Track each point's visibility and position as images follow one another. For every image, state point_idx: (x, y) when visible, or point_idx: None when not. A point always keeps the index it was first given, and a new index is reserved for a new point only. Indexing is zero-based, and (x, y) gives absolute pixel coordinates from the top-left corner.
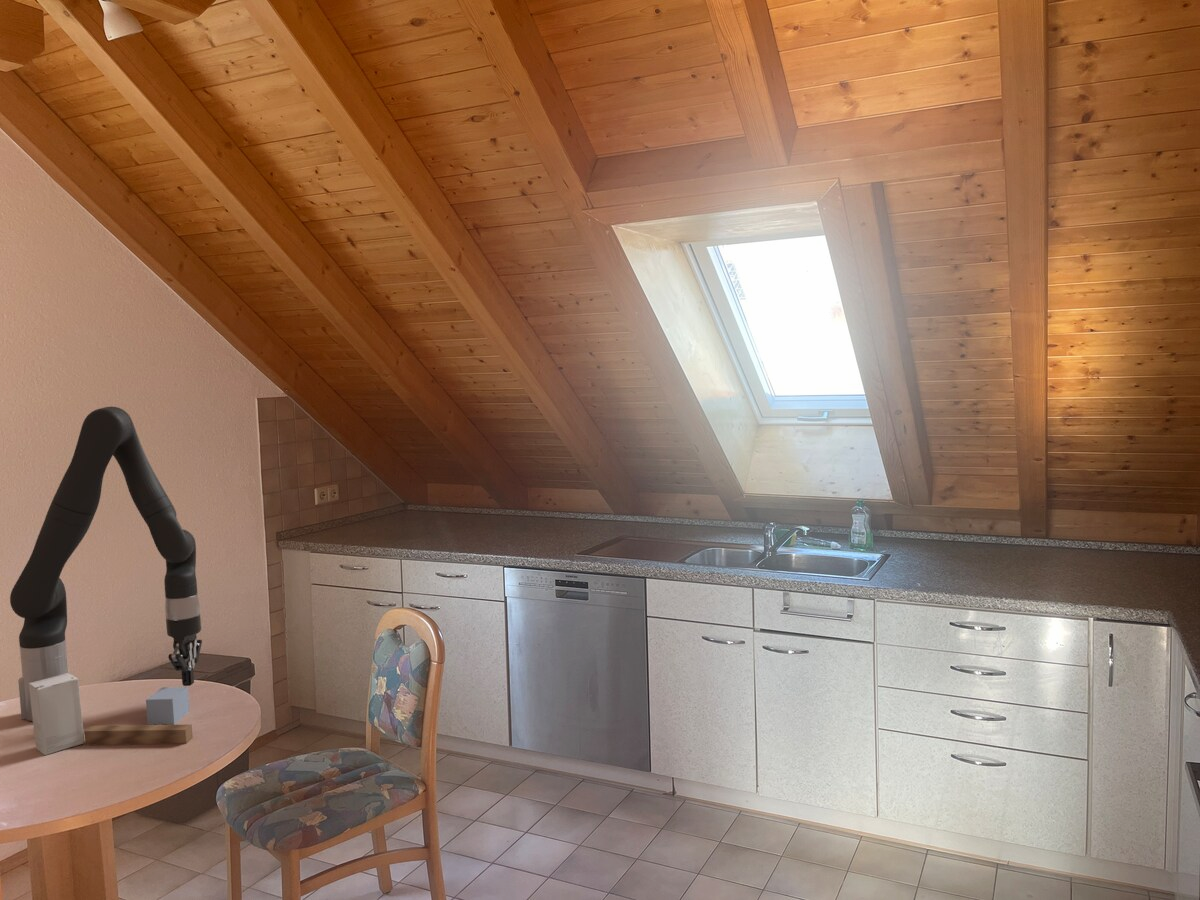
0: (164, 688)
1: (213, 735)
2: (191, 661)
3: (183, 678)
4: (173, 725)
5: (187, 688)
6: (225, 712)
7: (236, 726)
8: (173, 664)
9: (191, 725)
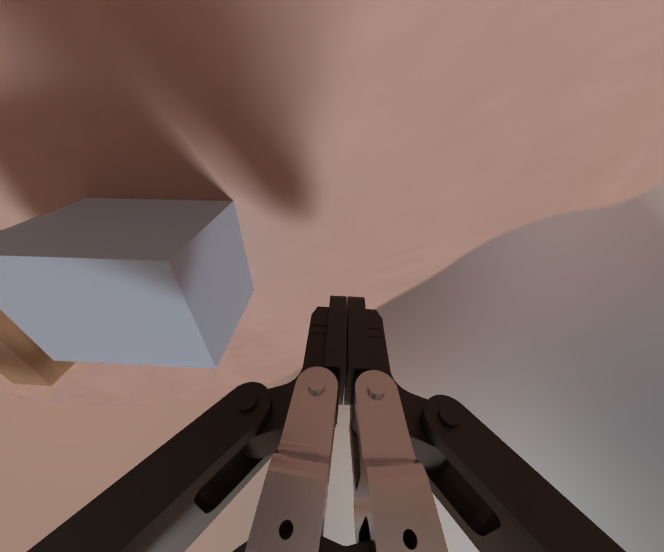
0: (158, 280)
1: (121, 379)
2: (352, 469)
3: (308, 338)
4: (9, 354)
5: (213, 363)
6: (258, 369)
7: (182, 399)
8: (138, 471)
9: (51, 383)
